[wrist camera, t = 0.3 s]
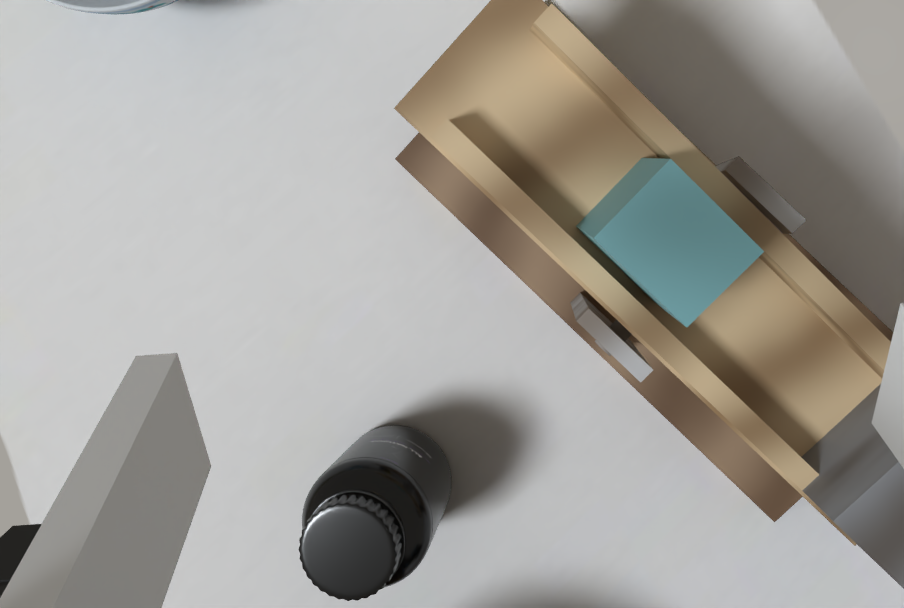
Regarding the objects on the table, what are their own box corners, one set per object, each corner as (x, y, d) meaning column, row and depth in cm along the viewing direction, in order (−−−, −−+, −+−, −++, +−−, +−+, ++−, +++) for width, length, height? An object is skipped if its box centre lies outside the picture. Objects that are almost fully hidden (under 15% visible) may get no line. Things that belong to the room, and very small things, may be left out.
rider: (722, 238, 35) (764, 251, 31) (656, 304, 36) (686, 327, 31) (641, 157, 35) (670, 158, 30) (575, 226, 35) (593, 238, 31)
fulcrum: (928, 370, 46) (1046, 413, 35) (769, 516, 47) (835, 600, 37) (540, 4, 46) (537, -66, 36) (398, 160, 48) (354, 139, 37)
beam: (957, 423, 38) (1057, 478, 32) (839, 530, 40) (912, 604, 33) (512, -19, 35) (524, -58, 29) (397, 110, 36) (382, 101, 30)
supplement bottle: (430, 407, 49) (393, 462, 37) (468, 512, 50) (443, 600, 38) (326, 441, 50) (257, 506, 38) (364, 545, 51) (307, 640, 39)
